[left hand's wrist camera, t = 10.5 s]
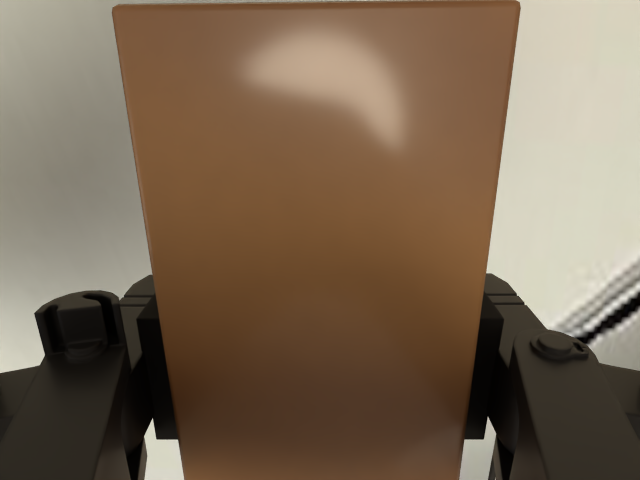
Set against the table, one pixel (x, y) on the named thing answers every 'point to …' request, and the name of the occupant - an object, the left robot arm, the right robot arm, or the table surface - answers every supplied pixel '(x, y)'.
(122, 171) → the table surface
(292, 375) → the post
